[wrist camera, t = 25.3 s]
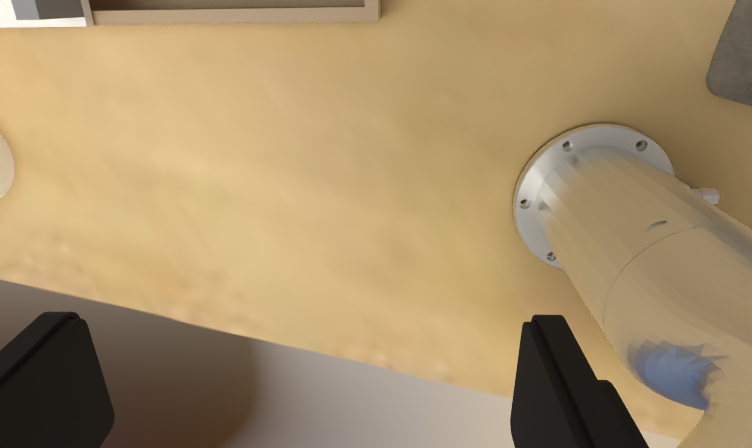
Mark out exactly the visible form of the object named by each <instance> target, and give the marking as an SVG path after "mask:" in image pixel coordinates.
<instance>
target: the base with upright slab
mask: <svg viewBox="0 0 752 448" xmlns="http://www.w3.org/2000/svg"><path fill="white" fill-rule="evenodd" d="M14 175H15V172H14V160H13V156H12V153H11V150H10V147H9V146H8V144H7V142H6V140H5V139H4V137H3V135H2V134H1V133H0V198H1V197H3V196H4V195H5V194H6V193H7V191H8V190H9V189H10V187H11V186H12V182H13V179H14Z"/></svg>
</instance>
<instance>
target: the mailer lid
mask: <svg viewBox="0 0 752 448" xmlns="http://www.w3.org/2000/svg"><path fill="white" fill-rule="evenodd" d="M78 26H94V22H93V18H92V14H91V9H90V5H89V1H88V0H0V28H6V27H78Z"/></svg>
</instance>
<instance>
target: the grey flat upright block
mask: <svg viewBox="0 0 752 448" xmlns="http://www.w3.org/2000/svg"><path fill="white" fill-rule="evenodd" d="M707 86H708V89H709V90H710V91H711V92H712V93H713V94H714V95H717V96H720V97H723V98H726V99H730V100H733V101H736V102H740V103H743V104H746V105H750V106H752V0H737V1H736V3H735V5H734V8H733V10H732V12H731V14H730V16H729V19H728V21H727V23H726V25H725V28H724V30H723V33H722V35H721V37H720V40H719V42H718V45H717V48H716V51H715V53H714V56H713V59H712V62H711V65H710V68H709V71H708V74H707Z"/></svg>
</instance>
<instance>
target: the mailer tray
mask: <svg viewBox="0 0 752 448" xmlns="http://www.w3.org/2000/svg"><path fill="white" fill-rule="evenodd" d="M88 1H89V5H90V9H91V14H92V18H93V22H94V25H166V24H239V23H311V22H379V20H380V18H381V0H88Z"/></svg>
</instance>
